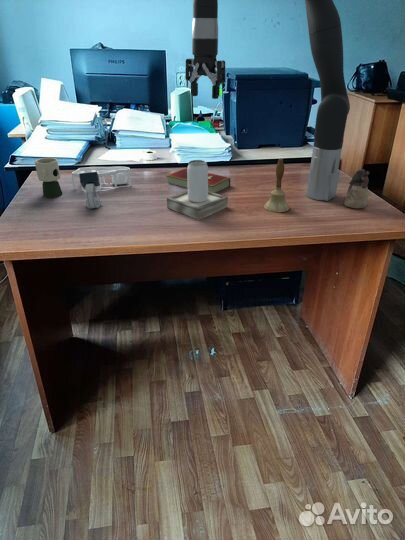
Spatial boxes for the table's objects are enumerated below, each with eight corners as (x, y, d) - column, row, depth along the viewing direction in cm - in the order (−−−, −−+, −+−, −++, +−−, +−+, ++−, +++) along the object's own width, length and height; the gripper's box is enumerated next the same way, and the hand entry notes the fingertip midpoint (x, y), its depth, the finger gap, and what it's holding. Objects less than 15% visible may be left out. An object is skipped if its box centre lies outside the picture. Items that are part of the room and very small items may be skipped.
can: (207, 203, 126) (208, 165, 120) (187, 202, 126) (186, 165, 120) (207, 195, 132) (208, 159, 125) (188, 195, 132) (187, 159, 125)
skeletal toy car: (132, 183, 152) (131, 164, 148) (130, 193, 142) (128, 173, 138) (79, 184, 150) (76, 165, 147) (73, 194, 141) (69, 174, 137)
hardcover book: (185, 177, 159) (185, 166, 157) (230, 187, 149) (230, 176, 147) (166, 185, 151) (165, 174, 149) (212, 196, 141) (212, 185, 138)
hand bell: (270, 213, 127) (275, 164, 119) (260, 204, 134) (264, 156, 125) (293, 211, 129) (300, 162, 121) (282, 202, 136) (288, 154, 127)
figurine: (356, 199, 138) (363, 165, 131) (370, 207, 132) (379, 171, 126) (339, 202, 135) (346, 167, 129) (353, 209, 130) (361, 173, 124)
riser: (227, 207, 131) (227, 197, 129) (198, 220, 122) (198, 209, 120) (196, 197, 139) (196, 187, 137) (167, 208, 130) (166, 197, 128)
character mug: (60, 203, 133) (52, 164, 127) (38, 203, 133) (29, 165, 126) (67, 192, 143) (61, 155, 136) (47, 192, 142) (39, 156, 136)
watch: (83, 180, 132) (86, 212, 131) (78, 171, 124) (81, 205, 123) (100, 179, 133) (104, 210, 131) (96, 169, 125) (100, 203, 123)
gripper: (232, 37, 114) (230, 98, 122) (195, 36, 122) (196, 94, 130) (215, 37, 109) (214, 101, 117) (178, 36, 117) (179, 96, 125)
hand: (204, 97), depth 124 cm, fingers open, 8 cm apart
